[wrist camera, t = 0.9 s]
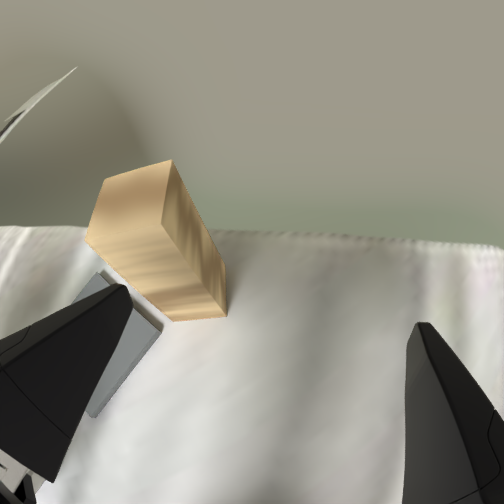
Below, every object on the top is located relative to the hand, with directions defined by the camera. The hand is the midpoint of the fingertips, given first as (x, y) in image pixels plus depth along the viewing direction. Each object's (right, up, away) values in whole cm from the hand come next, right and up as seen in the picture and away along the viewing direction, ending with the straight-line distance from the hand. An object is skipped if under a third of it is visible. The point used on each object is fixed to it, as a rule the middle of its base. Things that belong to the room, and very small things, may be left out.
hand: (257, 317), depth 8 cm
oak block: (-5, -2, +18) cm, 19 cm away
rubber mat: (-16, -7, +17) cm, 24 cm away
